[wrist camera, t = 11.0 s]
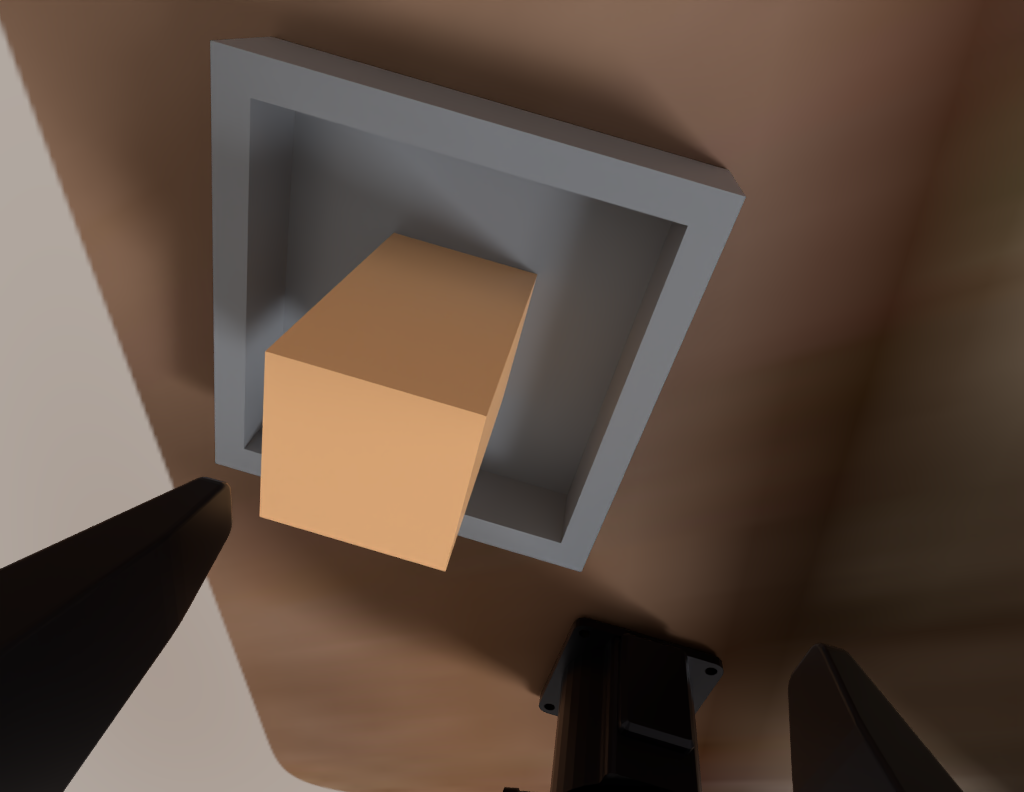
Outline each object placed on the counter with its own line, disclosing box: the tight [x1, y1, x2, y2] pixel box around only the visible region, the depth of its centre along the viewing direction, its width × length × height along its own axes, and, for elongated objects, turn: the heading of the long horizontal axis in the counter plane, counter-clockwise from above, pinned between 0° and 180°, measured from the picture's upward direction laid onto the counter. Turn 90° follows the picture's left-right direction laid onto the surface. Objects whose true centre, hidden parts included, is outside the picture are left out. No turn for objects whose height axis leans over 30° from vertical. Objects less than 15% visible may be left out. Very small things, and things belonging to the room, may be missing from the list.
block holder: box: [210, 37, 746, 572], centre depth 20 cm, size 13×13×3 cm
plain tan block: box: [260, 233, 537, 571], centre depth 17 cm, size 4×4×8 cm
